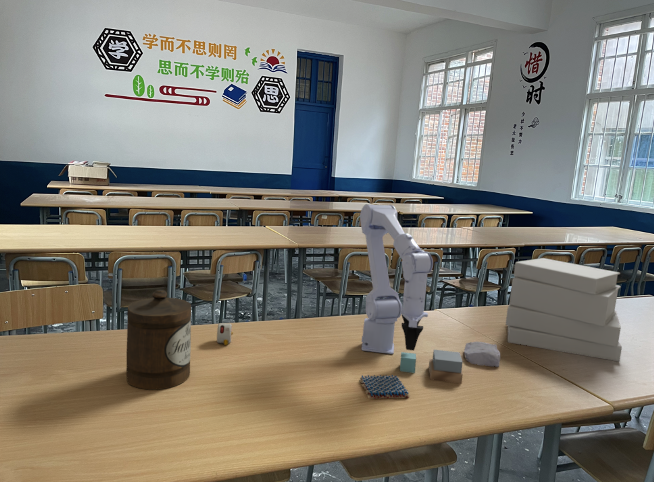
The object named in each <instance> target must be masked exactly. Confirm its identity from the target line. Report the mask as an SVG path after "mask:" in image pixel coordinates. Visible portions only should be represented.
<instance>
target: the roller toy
mask: <svg viewBox="0 0 654 482" xmlns="http://www.w3.org/2000/svg"><path fill="white" fill-rule="evenodd" d="M232 327H233V325H232V323H225V322H222V323H221V322H220V323H218V325H217V330H216V331H217V332H216V342H217V343H218V344H224V346H228V344H230V343H232V335H234V332H233V328H232Z"/></svg>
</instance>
